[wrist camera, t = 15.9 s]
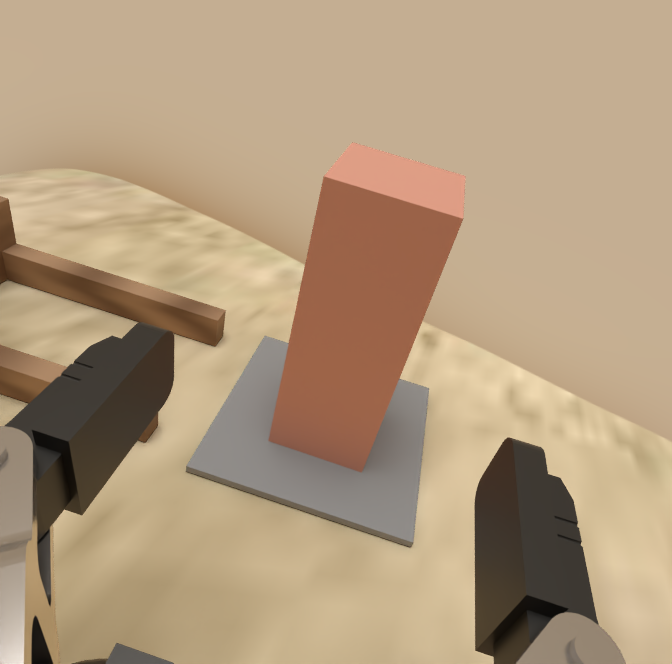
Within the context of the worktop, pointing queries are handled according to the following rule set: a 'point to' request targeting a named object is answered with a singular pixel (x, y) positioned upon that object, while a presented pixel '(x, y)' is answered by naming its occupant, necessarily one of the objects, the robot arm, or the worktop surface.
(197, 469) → the mat
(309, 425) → the red block
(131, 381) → the robot arm
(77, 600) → the worktop surface
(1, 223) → the frame
